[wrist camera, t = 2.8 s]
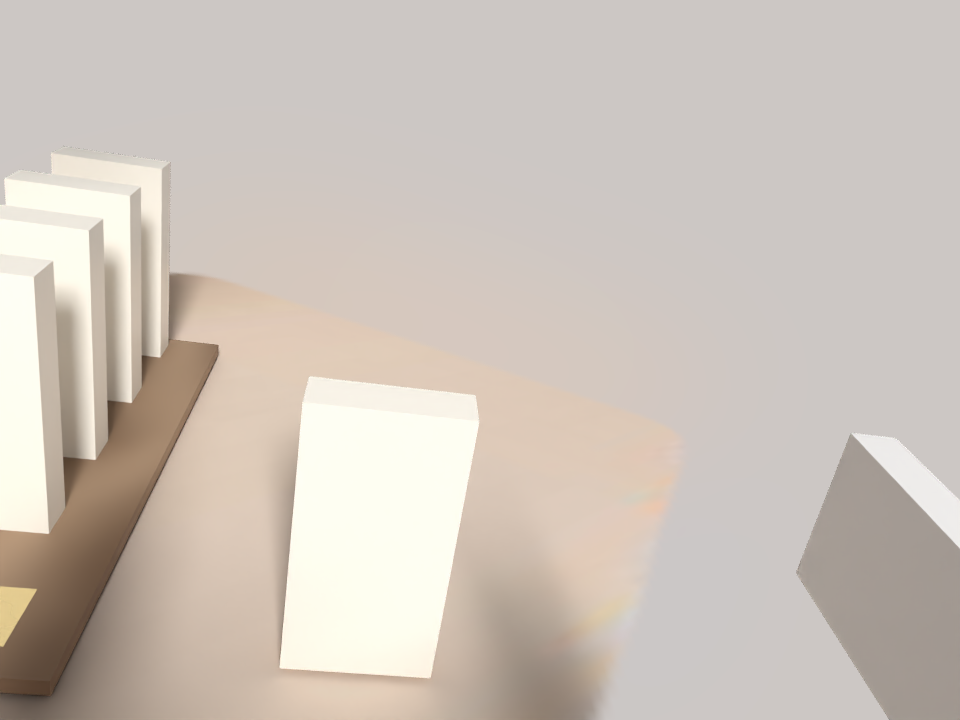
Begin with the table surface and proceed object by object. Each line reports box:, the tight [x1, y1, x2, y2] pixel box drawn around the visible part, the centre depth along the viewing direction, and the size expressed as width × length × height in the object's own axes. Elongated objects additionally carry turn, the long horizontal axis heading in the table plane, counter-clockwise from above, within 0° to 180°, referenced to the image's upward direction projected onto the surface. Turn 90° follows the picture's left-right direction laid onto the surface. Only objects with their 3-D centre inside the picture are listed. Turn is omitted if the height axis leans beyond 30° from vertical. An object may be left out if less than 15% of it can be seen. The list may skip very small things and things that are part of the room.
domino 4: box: [51, 146, 171, 357], centre depth 42 cm, size 2×5×10 cm, turn 94°
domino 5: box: [279, 376, 479, 678], centre depth 27 cm, size 2×5×10 cm, turn 94°
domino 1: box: [4, 170, 142, 403], centre depth 38 cm, size 2×5×10 cm, turn 94°
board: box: [0, 339, 218, 696], centre depth 35 cm, size 10×24×1 cm, turn 3°
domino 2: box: [0, 205, 108, 460], centre depth 33 cm, size 2×5×10 cm, turn 94°
